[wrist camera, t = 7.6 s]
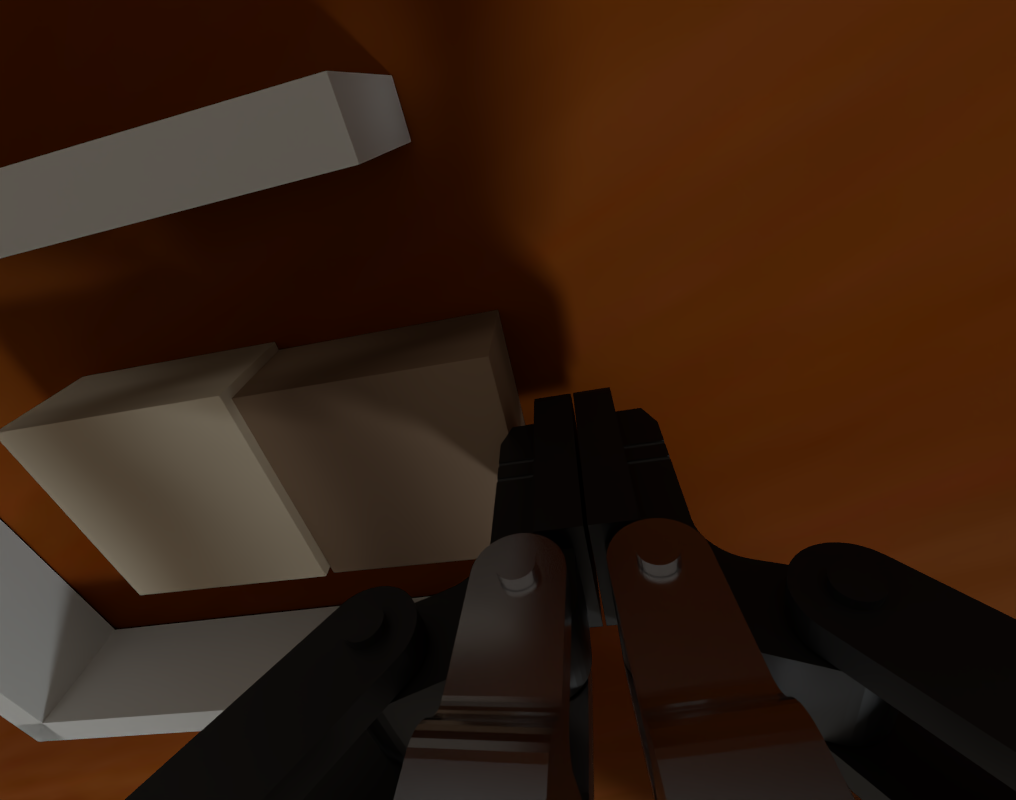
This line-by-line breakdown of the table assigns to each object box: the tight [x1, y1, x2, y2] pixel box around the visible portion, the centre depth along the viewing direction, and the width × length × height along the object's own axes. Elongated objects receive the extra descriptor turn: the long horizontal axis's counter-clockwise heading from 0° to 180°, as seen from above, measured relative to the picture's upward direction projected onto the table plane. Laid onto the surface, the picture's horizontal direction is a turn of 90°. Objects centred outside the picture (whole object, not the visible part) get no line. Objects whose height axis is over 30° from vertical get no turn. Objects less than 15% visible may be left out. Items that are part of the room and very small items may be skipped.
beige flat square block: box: [232, 310, 525, 573], centre depth 11 cm, size 5×5×2 cm
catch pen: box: [0, 71, 430, 742], centre depth 12 cm, size 16×14×3 cm
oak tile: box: [0, 342, 330, 595], centre depth 12 cm, size 5×5×2 cm
